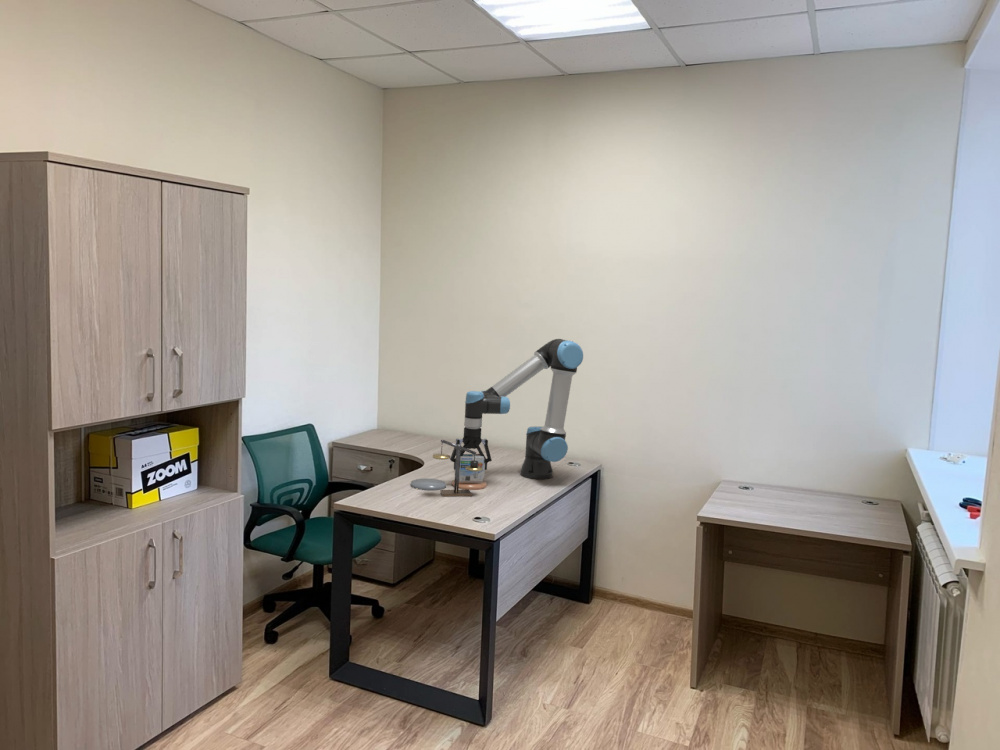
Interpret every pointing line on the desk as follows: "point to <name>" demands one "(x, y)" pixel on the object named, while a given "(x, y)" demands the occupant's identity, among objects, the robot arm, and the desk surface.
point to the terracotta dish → (471, 485)
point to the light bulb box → (465, 461)
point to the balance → (472, 467)
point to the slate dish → (428, 484)
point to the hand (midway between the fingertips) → (469, 477)
